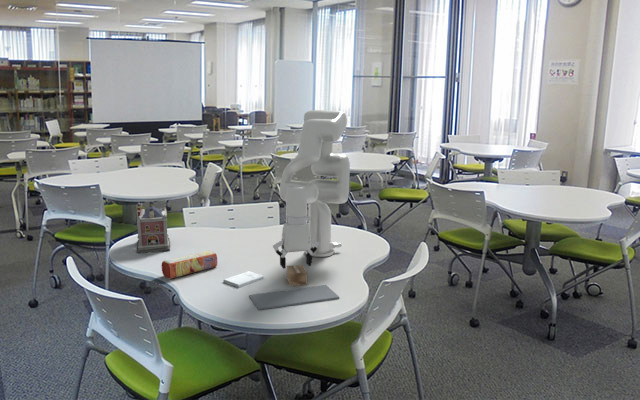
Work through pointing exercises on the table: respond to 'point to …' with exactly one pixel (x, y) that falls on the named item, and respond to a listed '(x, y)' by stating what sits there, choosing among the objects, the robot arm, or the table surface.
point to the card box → (296, 275)
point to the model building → (152, 230)
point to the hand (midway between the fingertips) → (296, 266)
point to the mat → (293, 297)
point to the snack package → (189, 264)
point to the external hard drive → (243, 279)
